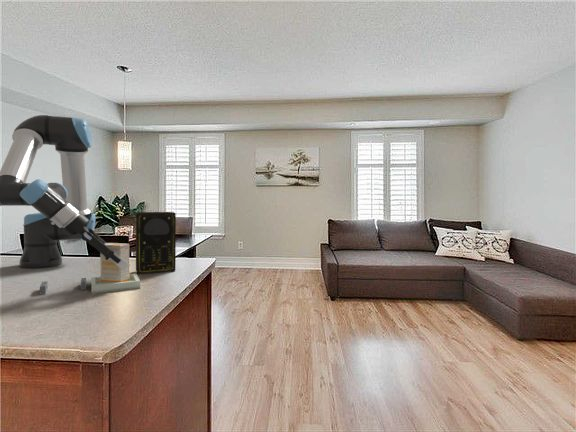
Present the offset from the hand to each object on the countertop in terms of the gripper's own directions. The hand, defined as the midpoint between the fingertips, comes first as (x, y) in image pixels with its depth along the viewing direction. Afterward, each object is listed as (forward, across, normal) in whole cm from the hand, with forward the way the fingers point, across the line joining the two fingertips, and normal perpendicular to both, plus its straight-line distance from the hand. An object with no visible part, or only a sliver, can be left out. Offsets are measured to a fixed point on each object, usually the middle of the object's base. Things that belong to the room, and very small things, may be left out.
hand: (125, 265), depth 117 cm
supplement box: (+2, 0, -6) cm, 6 cm away
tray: (+3, 0, -7) cm, 8 cm away
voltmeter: (+14, -18, +4) cm, 23 cm away
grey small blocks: (-8, -3, -18) cm, 20 cm away
